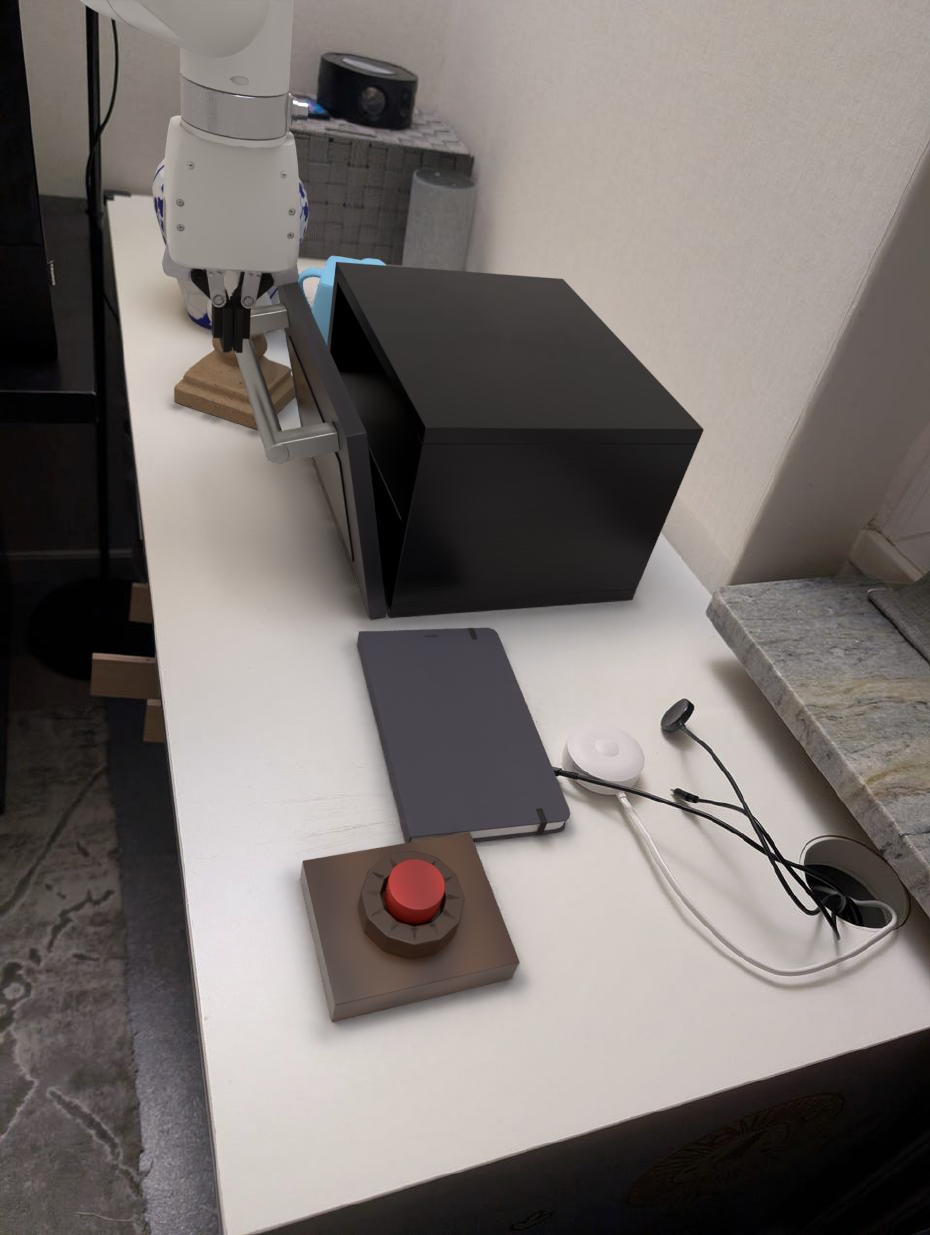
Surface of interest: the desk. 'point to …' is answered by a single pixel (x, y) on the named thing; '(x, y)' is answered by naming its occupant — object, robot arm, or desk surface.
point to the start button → (414, 891)
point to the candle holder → (233, 376)
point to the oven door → (320, 433)
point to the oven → (503, 439)
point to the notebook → (458, 736)
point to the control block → (403, 928)
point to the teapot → (327, 289)
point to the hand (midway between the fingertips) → (230, 345)
